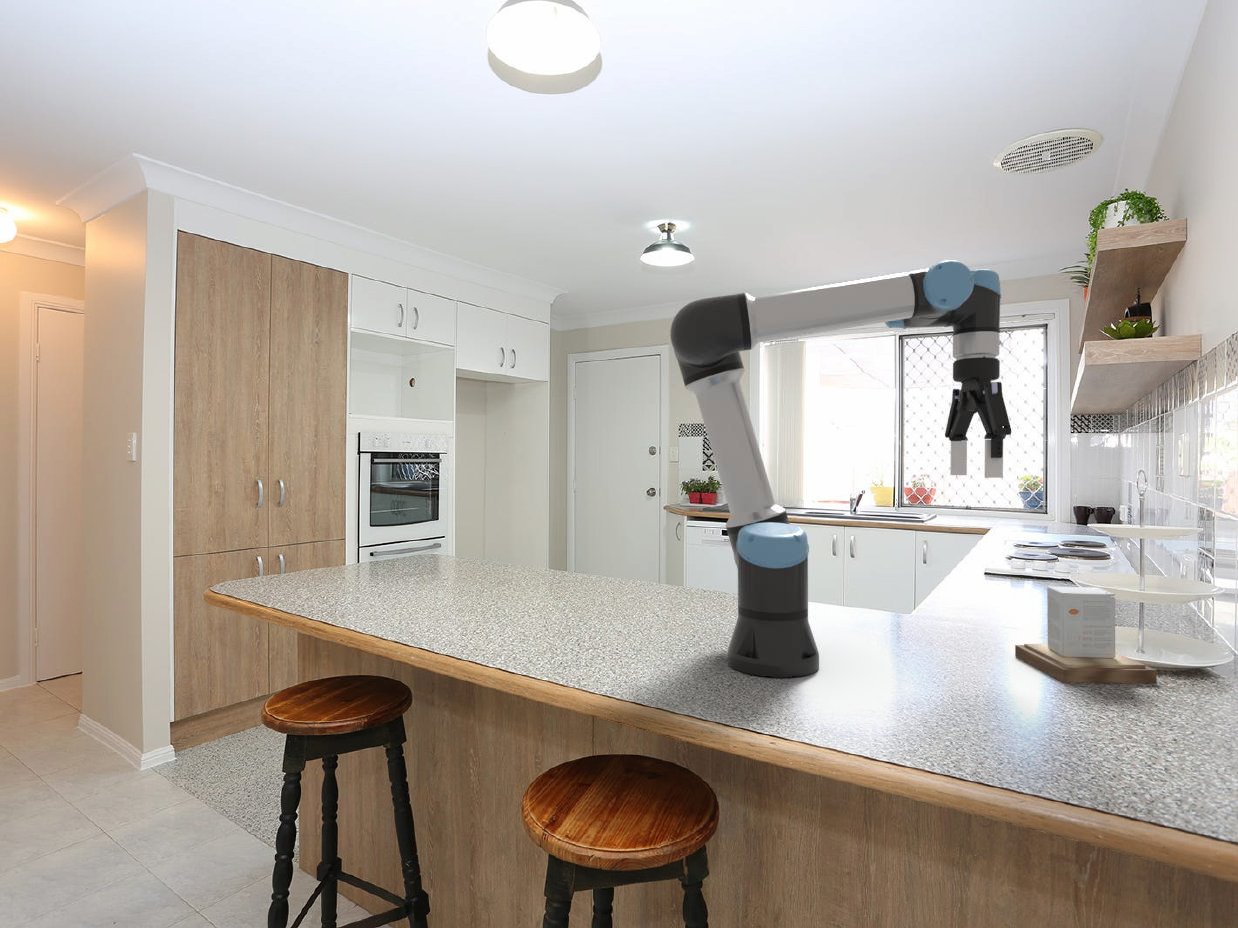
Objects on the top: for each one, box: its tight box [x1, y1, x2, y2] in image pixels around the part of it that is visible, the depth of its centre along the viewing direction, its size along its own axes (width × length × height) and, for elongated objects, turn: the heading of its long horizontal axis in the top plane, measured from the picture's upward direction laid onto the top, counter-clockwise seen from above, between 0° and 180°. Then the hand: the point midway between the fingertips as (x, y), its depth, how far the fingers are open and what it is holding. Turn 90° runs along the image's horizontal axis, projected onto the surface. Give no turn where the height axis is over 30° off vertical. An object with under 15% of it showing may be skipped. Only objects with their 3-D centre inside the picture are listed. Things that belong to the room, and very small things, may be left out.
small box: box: [1046, 586, 1116, 658], centre depth 114 cm, size 8×6×10 cm
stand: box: [1014, 643, 1158, 684], centre depth 114 cm, size 14×14×2 cm
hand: (975, 476), depth 126 cm, fingers open, 13 cm apart
